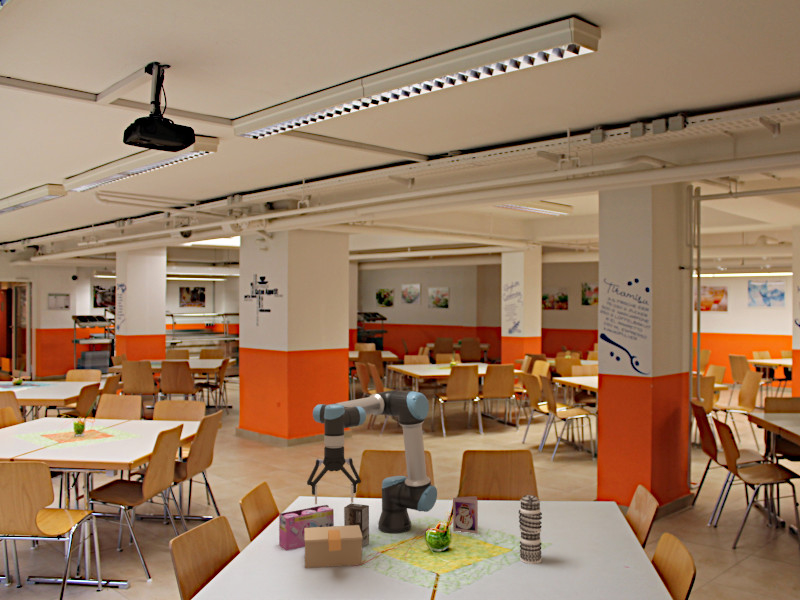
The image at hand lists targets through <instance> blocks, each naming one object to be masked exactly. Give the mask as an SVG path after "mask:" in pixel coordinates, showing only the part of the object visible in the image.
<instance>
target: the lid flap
mask: <svg viewBox="0 0 800 600" xmlns="http://www.w3.org/2000/svg"><path fill="white" fill-rule="evenodd" d="M304 534H305V542H321V541H328V545H329V551H337V550H341V540H357V539H362V534H361V530H360V527H359V525H351V526H344V525H338V526H337V525H334V526H332V527H312V528H304Z"/></svg>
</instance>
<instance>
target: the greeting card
mask: <svg viewBox="0 0 800 600" xmlns="http://www.w3.org/2000/svg"><path fill="white" fill-rule="evenodd" d="M452 503H453V504H452V507H453V508H452V515H453V517H452V523H453V524H452V526H453V527H452V528H453V532H456V531H461V532H460V533H463V532H470V533H469V534H471V533H478V534H479V526H478V525H479V522H478V521H479V520H478V519H479V516H478V514H479V512H478V509H479V506H478V495H477V496H476V495H475V496H460V497H459V496H457V497H453V498H452Z"/></svg>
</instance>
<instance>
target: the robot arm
mask: <svg viewBox="0 0 800 600" xmlns="http://www.w3.org/2000/svg"><path fill="white" fill-rule="evenodd" d="M429 411H430V405H429V401H428V399H427V397H426V395H424V393H422V392H417V391H413V390H412V391H408V390H399V389H398V390H396V389H393V390H392V389H391V390H387V391H382V392H381V391H380V392H377V393H372V394H370V395H369V396H368V397H364V398H363V397H362V398H358V399H351V400H345V401H341V402H336V403H330V404H326V403H323V404H321V403H320V404H317V405H316V406H314V407H313V410H312V417H313V420H314V421H315V422H316V423H319V424H322V425H324V430H323V431H324V437H323V439H324V440H323V441H324V442H323V443H324V444H323V445H324V448H323V450H324V451H323V453H324V455H323V457H324V458H323V459H319V458H316V459H315V464H314V467H313V470H312V471H311V473H310V475H309V477H308V479H307V481H306V485H308V486H311V495H312V496H314V505H318V483H319V482H320V481H321V480H322V478H323V477H324V476H325V474H326V473H327V472H328V471H329V472H339V471H341V472H342V473H343V474H344V475H345V477H347V479H348V480H349V482H350V504H351V503H352V504H354V494H356V493H357V485H358V484H360V483H362V479H361V478H360V475H359V473H358V472H357V469H356V468H355V465H354V463H353V458H352V457H348V458H346V459H345V447H344V445H345V429H348V428H354V427H358V426H361V425H363V424H364V423H365V421H366V419H367V416H370V415H373V416H390V417H396V418H397V419H398V420H397V421H398V425H400V426H401V428H402V434H403V444H404V445H403V446H404V454H405V463H406V464H405V465H406V475H407V476H405V475H395V476H388V477H385V478H384V479H383V480H382V481H381V513H380V516H379V519H378V521H377V522H378V523H377V525H378V526H377V529H378V530H379V531H381V532H384V533H387V534H402V533H406V532H409V531H410V530H411V529H412V522H411V519H410V516H409V513H408V512H409V511H408V509H410V510H413V511H418V512H424V513H425V512H426V513H427V512H430V511H431V510H432V509H433V507H434V506H435V505H436V503H437V502H436V501H437V498H438V488H436V486H435V485H433V484H432V479H431V478H430V476H427V464H426V456H425V446H424V434H423V424H424V422H425V419H426V418H427V417H428V415H429ZM322 464H323V465H324V467H323V469H322V470H321V471H320V472H319V474H318V475H317V476H316V473H317V471H318V469H319V466H321V465H322ZM345 464H347V465H348V466H349V467H350V469H351V470H352V473H353V474H354V477H355V478H354V477H353V476H352V475H351V474H350V472H348V470H347V469H346V468H345V467H344V466H345ZM315 476H316V478H315V479H314V477H315Z"/></svg>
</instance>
